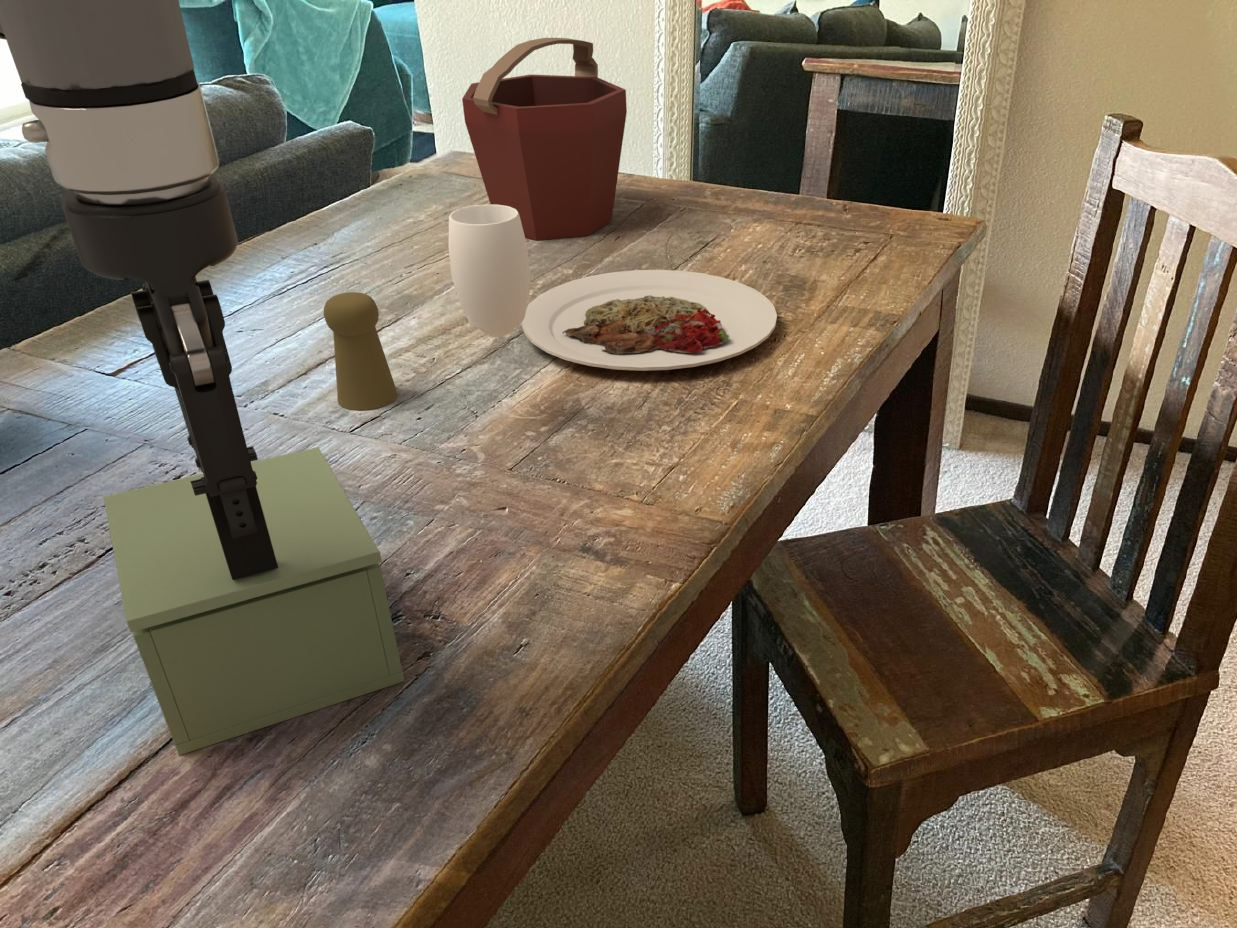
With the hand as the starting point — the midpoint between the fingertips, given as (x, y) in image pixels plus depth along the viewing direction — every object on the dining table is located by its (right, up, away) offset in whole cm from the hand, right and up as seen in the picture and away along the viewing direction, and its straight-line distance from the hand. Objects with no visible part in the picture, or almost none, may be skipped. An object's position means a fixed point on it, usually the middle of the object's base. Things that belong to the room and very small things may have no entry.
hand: (253, 567), depth 68 cm
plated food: (+20, +27, +62) cm, 71 cm away
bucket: (+4, +50, +95) cm, 108 cm away
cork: (-8, +17, +46) cm, 50 cm away
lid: (-4, +2, +6) cm, 7 cm away
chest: (-4, -6, +12) cm, 14 cm away
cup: (+7, +14, +42) cm, 45 cm away
